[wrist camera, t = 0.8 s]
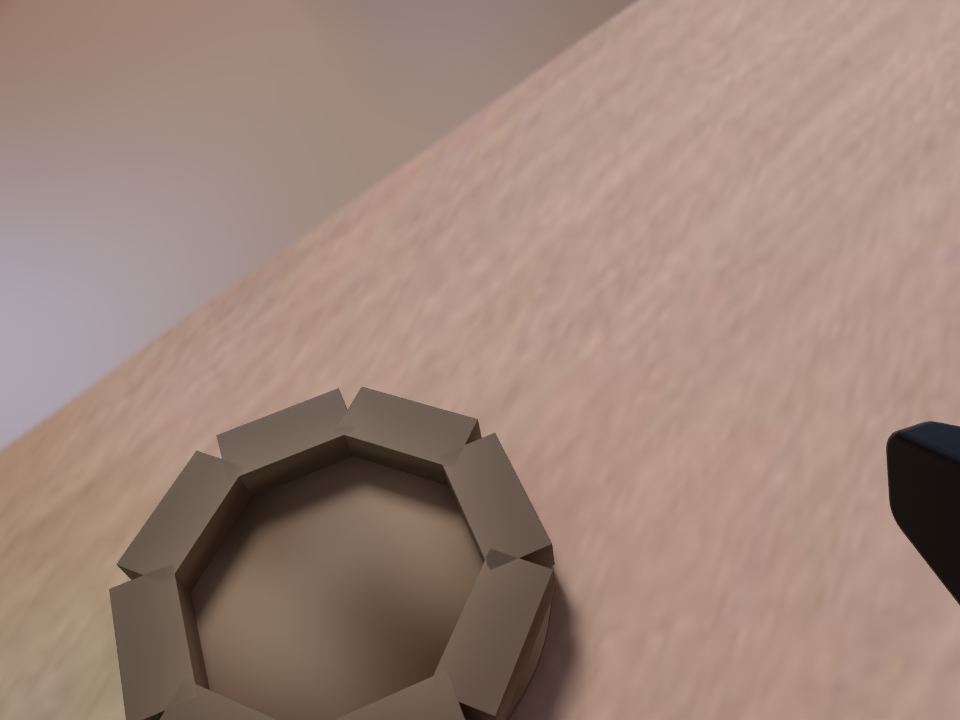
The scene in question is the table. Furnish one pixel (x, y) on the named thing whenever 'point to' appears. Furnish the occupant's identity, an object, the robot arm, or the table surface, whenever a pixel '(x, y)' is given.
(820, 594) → the table surface
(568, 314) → the table surface
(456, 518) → the ring seat
